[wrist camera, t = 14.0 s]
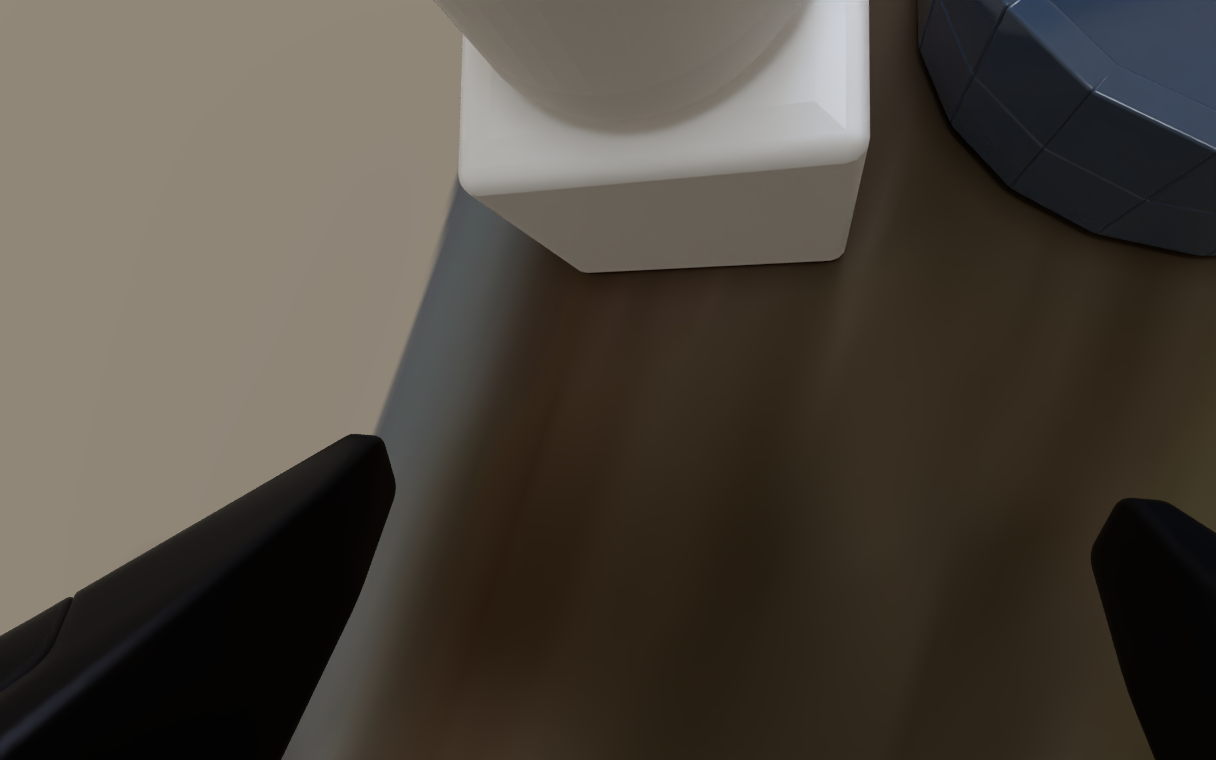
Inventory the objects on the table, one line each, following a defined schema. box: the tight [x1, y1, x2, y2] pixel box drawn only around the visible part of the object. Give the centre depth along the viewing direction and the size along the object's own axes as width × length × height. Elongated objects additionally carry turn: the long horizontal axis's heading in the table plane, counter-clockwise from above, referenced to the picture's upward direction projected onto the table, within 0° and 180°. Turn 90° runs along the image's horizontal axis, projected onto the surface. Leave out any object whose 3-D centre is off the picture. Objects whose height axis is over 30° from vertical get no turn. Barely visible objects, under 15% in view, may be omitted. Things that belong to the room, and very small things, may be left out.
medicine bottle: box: [434, 0, 870, 273], centre depth 12 cm, size 7×7×12 cm
